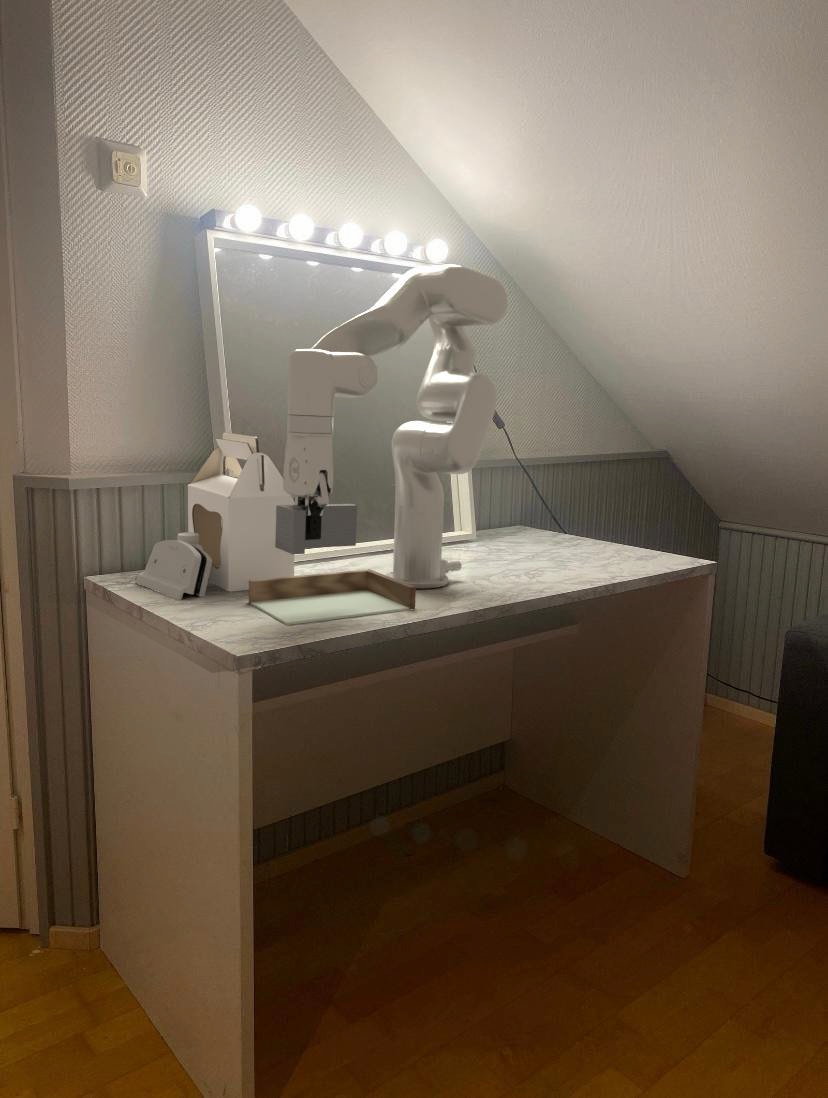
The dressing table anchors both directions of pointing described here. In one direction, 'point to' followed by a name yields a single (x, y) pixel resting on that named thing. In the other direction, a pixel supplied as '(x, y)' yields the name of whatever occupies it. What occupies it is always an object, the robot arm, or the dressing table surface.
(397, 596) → the walnut wall short
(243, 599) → the dressing table surface
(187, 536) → the pill bottle
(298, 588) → the walnut wall long
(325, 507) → the bracket
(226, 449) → the gable box
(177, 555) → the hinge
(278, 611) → the sage mat
